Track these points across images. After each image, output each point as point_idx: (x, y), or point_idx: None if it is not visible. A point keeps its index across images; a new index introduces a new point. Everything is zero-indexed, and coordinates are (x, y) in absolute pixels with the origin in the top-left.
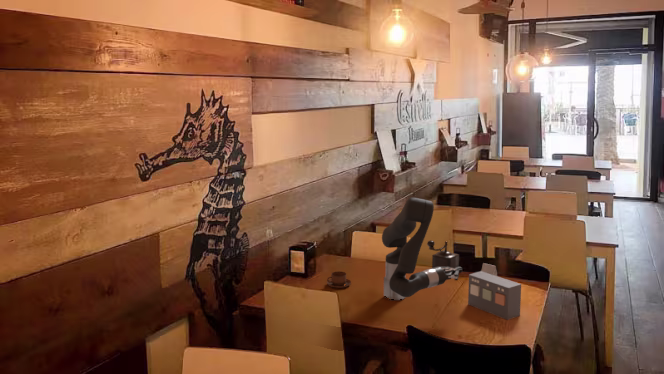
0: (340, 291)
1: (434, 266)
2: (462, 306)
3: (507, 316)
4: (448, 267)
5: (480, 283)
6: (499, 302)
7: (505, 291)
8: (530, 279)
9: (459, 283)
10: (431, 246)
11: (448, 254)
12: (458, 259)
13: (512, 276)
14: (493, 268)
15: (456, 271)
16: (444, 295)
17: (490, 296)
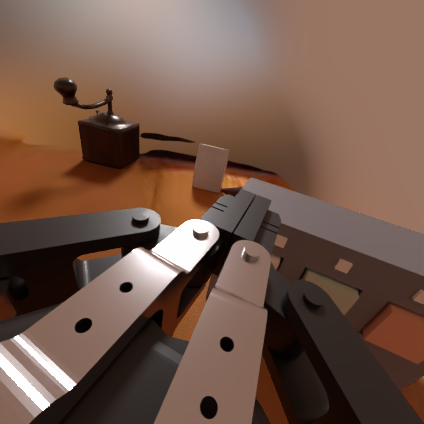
0: None
1: (86, 148)
2: (193, 321)
3: (405, 386)
4: (141, 224)
5: (292, 250)
6: (397, 347)
7: None
8: (258, 170)
9: (149, 190)
10: (68, 95)
11: (117, 121)
12: (138, 133)
13: (230, 165)
14: (224, 156)
15: (334, 351)
16: (115, 252)
17: (345, 313)
